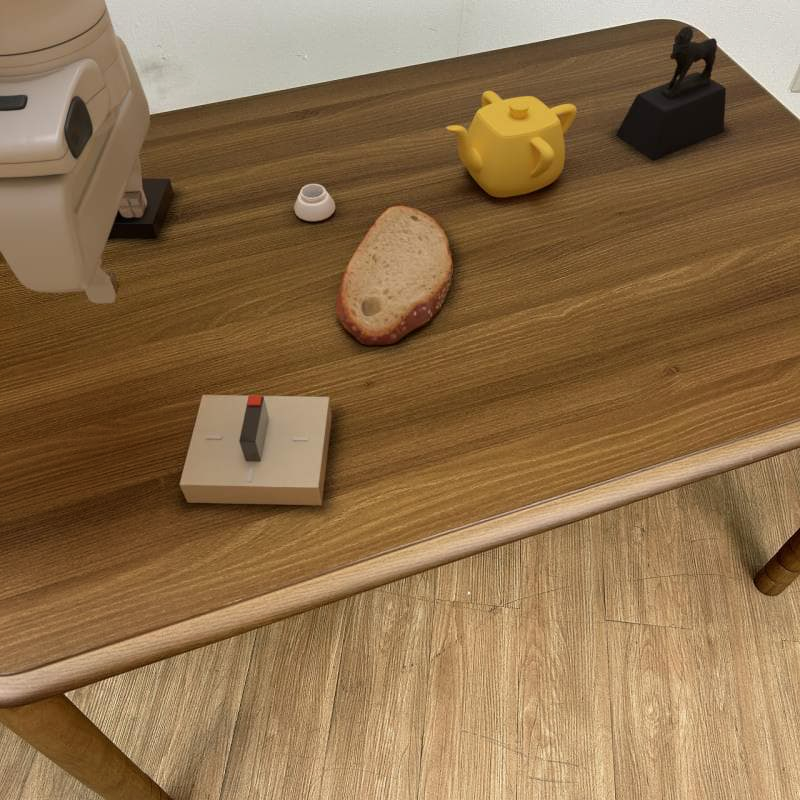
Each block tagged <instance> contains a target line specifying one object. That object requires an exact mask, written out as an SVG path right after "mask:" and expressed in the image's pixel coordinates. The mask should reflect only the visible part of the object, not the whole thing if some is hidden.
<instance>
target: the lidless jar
mask: <svg viewBox="0 0 800 800" xmlns="http://www.w3.org/2000/svg"><path fill="white" fill-rule="evenodd" d="M293 210H294V214H295V215H296V216H297V217H298V218H299V219H301V220H303V221H306V222H318V221H319V222H320V221H323V220H326V219H328V218H330V217H331V216H332V214H334V213H335V210H336V203H335V200H334V199H333V197H332V196H331V195H330V194H329V192H328V191H327V190H326V188H325V187H324V186H323V185H322V184H319V183H309V184H306V185H304V186H302V187H301V189H300V191H299V193H298V195H297V198H296V200H295V202H294V206H293Z"/></svg>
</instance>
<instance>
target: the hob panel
mask: <svg viewBox="0 0 800 800" xmlns="http://www.w3.org/2000/svg"><path fill="white" fill-rule="evenodd" d="M249 396H250V395H236V394H235V395H234V394H202V396H201V400H200V404H199V407H198V410H197V415H196V419H195V423H194V427H193V430H192V434H191V439H190V442H189V446H188V450H187V453H186V457H185V462H184V466H183V469H182V473H181V477H180V481H179V487H180V489H181V491H182V494H183V496H184V498H185V500H186V502H187V503H188V504H189V503H190V504H191V503H192V504H193V503H194V504H231V505H232V504H233V505H235V504H237V505H238V504H240V505H278V506H279V505H284V506H285V505H286V506H293V505H294V506H322V505H323V498H324V488H325V480H326V471H327V461H328V453H329V445H330V438H331V436H330V435H331V427H332V418H333V415H332V408H331V400H330V397H329V396H300V395H299V396H298V395H295V396H293V395H284V396H283V395H263V396H264V399H265V403H266V407H267V411H268V415H269V418H268V424H267V429H266V435H265V440H264V446H263V451H262V457H261V461H245V458H244V455H243V452H242V449H241V445H240V442H239V440H240V435H241V430H242V425H243V420H244V415H245V411H246V406H247V401H248V397H249Z"/></svg>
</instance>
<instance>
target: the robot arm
mask: <svg viewBox="0 0 800 800" xmlns="http://www.w3.org/2000/svg"><path fill="white" fill-rule="evenodd" d="M137 71H138V70H137V68H136V66H135V64H134V61H133V58H132V56H131V53H130V52H129V49H128V47H127V45H126V44H125V42H124V40H123V39H122V38H121V37H120V36H119V35H118V34H116V32H115V28H114V26H113V23H112V19H111V16H110V13H109V10H108V7H107V3H106V0H0V253H1V255H2V257H3V258H4V260H5V262H6V263H7V265H8V267H9V268H10V270H11V271H12V273H13V274H14V276H15V277H16V279H17V280H18V281H19V282H20V284H22V286H23V287H25V288H26V289H28V290H31V291H34V292H36V293H40V294H41V293H42V294H66V293H80V292H84V293H85V294H86V296H87V299H88V300H89V301H90V302H91V303H93V304H95V305H96V304H98V305H100V304H113V303H114V302H115V301H116V298H117V294H118V291H119V288H120V283H119V281H118V280H117V276H116V273H115V272H114V270H113V269H103V268H101V266H102V263H103V259H102V255H103V253H104V250H105V247H106V244H107V243H108V239H109V238H108V236H109V234H110V231H111V228H112V226H113V223H114V220H115V217H116V215H117V212H118V209H119V212H120V214H121V215H122V216H123V217H125V218H132V217H136V218H140V217H142V216H143V214H144V211H145V208H146V205H147V200H146V197H145V194H144V191H143V188H142V178H143V177H142V164H141V157H140V153H141V151H142V148H143V144H144V142H145V140H146V137H147V133H148V131H149V129H150V125H151V113H150V105H149V102H148V99H147V96H146V92H145V90H144V87H143V84H142V82H141V79H140V77H139V74H138V72H137Z"/></svg>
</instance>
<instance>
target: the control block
mask: <svg viewBox="0 0 800 800" xmlns="http://www.w3.org/2000/svg"><path fill="white" fill-rule="evenodd" d="M142 188H143V191H144V194H145V197H146V200H147V205H146V208H145V211H144V214H143V216H142V217H140V218H136V217H132V218H125V217H123V216H122V215H121V214H120V212H119V209H118V212H117V215H116V217H115V220H114V223H113V226H112V228H111V231H110V234H109V236H108V239H111V238H112V239H158V237H159V235H160V232H161V230H162V227H163V224H164V221H165V218H166V216H167V213H168V210H169V208H170V205H171V202H172V200H173V197H174V194H175V193H174V189H173V186H172V182H171V179H170V178H149V177H148V178H143V177H142Z"/></svg>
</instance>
